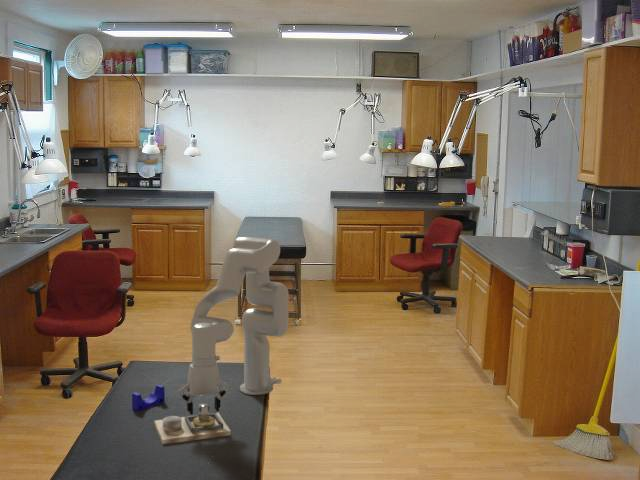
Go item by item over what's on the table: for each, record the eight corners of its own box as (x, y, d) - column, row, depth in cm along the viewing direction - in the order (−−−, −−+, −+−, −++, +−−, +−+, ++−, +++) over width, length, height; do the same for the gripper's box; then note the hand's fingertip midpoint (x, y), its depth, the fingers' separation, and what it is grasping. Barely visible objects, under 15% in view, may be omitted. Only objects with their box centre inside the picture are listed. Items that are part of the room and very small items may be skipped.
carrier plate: (218, 416, 261) (218, 404, 261) (230, 435, 247) (230, 422, 246) (154, 424, 253) (154, 412, 253) (162, 444, 239) (162, 430, 238)
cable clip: (156, 399, 277) (156, 383, 276) (164, 402, 274) (164, 386, 273) (129, 408, 267) (129, 392, 266) (137, 411, 265) (137, 395, 264)
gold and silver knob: (212, 418, 256) (212, 400, 255) (216, 426, 249) (216, 408, 248) (191, 421, 253) (191, 402, 252) (195, 429, 247) (195, 410, 246)
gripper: (226, 354, 254) (226, 404, 257) (175, 359, 248) (175, 410, 251) (232, 361, 247) (232, 412, 250) (179, 367, 241) (179, 419, 244)
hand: (203, 411), depth 250 cm, fingers open, 8 cm apart
